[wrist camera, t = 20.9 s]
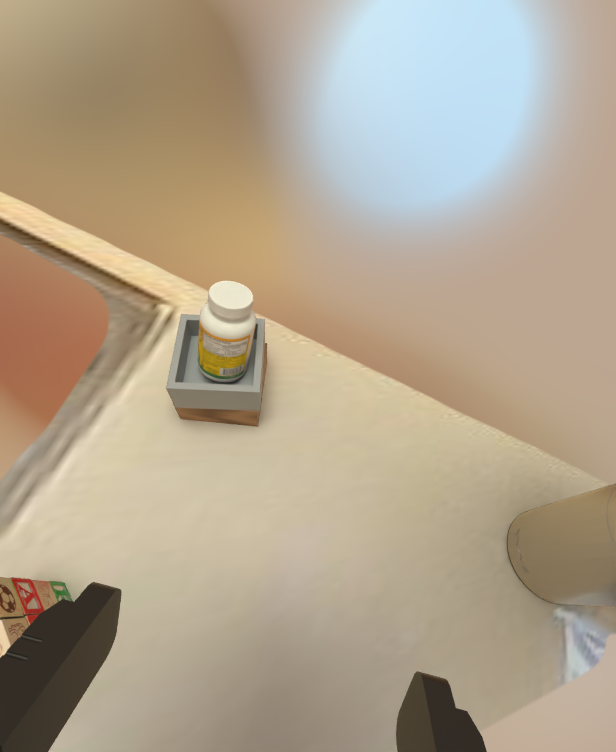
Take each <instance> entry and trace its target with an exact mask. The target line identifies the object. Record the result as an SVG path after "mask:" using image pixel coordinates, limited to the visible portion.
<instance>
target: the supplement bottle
mask: <svg viewBox="0 0 616 752" xmlns="http://www.w3.org/2000/svg"><path fill="white" fill-rule="evenodd" d="M252 303H253V295H252V292H251V291H250V290H249V289H248V288H247V287H246V286H244V285H242V284H240V283H237V282H233V281H221V282H217V283H215V284H214V285H212V286H211V288H210V289H209V294H208V302H207V303H206V304H205V305H204V306H203V307H202V309H201V312H200V318H199V338H198V366H199V369H200V371H201V372H202V373H203V375H205V376H206V377H207V378H209V379H211V380H214V381H217V382H231V381H234V380H237V379H239V378H240V377H241V376H243V375H244V373H245V372H246V370H247V367H248V362H249V357H250V351H251V346H252V341H253V336H254V331H255V326H256V317H255V314H254V312H253V310H252Z"/></svg>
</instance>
